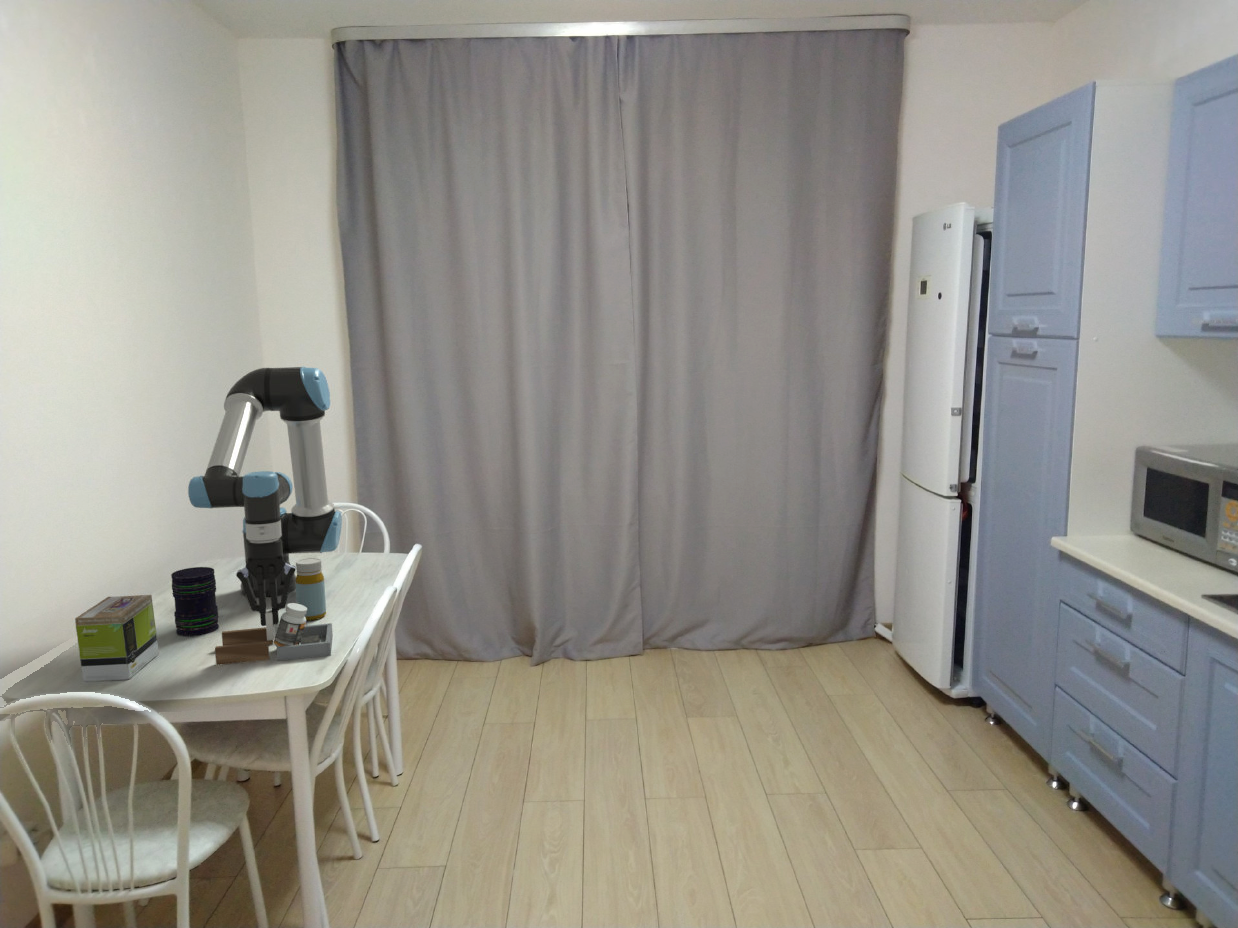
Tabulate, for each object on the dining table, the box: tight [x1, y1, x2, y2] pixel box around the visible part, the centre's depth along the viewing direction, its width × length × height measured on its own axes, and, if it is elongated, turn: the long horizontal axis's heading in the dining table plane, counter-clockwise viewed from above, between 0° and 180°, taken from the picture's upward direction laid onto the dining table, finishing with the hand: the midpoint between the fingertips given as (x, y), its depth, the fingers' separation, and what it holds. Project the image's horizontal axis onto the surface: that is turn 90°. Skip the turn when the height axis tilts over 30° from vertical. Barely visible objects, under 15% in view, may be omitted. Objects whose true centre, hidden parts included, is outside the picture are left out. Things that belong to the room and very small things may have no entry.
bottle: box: [295, 557, 327, 622], centre depth 227 cm, size 7×7×15 cm
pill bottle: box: [273, 602, 307, 648], centre depth 205 cm, size 6×6×10 cm
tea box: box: [74, 594, 159, 683], centre depth 194 cm, size 15×10×15 cm, turn 5°
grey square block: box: [299, 635, 321, 644], centre depth 206 cm, size 4×4×2 cm
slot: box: [214, 626, 274, 666], centre depth 203 cm, size 11×11×4 cm
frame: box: [276, 622, 334, 662], centre depth 207 cm, size 14×12×3 cm
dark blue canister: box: [170, 566, 220, 638], centre depth 218 cm, size 10×10×15 cm
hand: (270, 638), depth 204 cm, fingers closed
